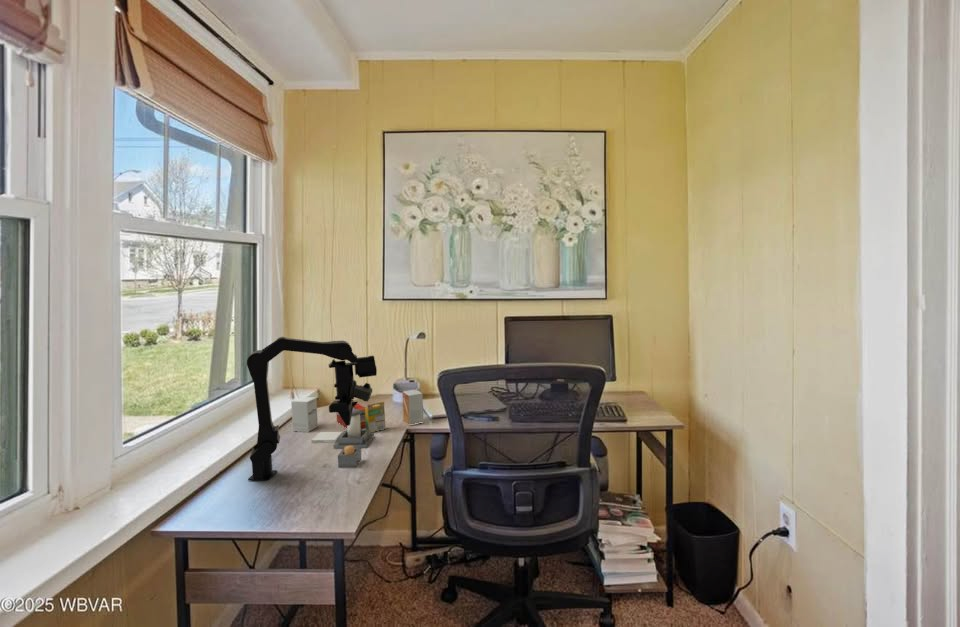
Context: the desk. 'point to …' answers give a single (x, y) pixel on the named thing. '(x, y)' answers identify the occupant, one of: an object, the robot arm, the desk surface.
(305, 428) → the supplement box
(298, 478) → the desk surface
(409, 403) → the small box
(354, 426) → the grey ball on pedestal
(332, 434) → the pad
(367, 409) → the crayon box
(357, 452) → the block
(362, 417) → the medicine box
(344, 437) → the frame
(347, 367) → the robot arm
